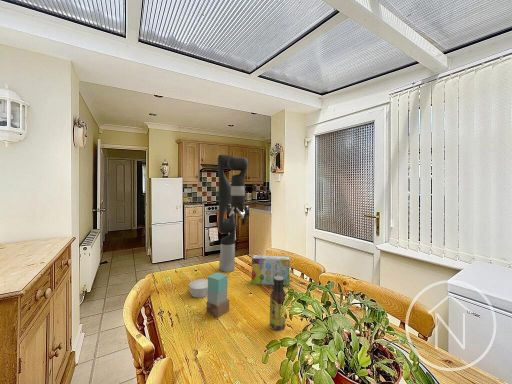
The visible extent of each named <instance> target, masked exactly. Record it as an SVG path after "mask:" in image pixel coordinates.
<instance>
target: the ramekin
mask: <svg viewBox="0 0 512 384" xmlns="http://www.w3.org/2000/svg"><path fill="white" fill-rule="evenodd" d="M188 287H189V291H190V295H191V296H192V297H193V298H205V297H207V290H208V278H207V279H206V278H198V279H194V280H192V281H190V283H189V285H188Z"/></svg>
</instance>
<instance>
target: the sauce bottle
mask: <svg viewBox="0 0 512 384" xmlns="http://www.w3.org/2000/svg"><path fill="white" fill-rule="evenodd" d="M273 281H274V285H273V290H272V291H271V293H270V298H269V299H270V300H269V326H270V327H271V329H274V330H277V331H281V330H283V329H285V327H286V321H287V320H286V318H287V317H286V318H284V317H280V310H281V306H282V302H283V299H284V297H285V296H286V297H287V295H286V292H285V290H284V286H283V282H284V278H283V277H282V276H275V277H274V279H273Z"/></svg>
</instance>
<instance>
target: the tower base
mask: <svg viewBox="0 0 512 384" xmlns="http://www.w3.org/2000/svg"><path fill="white" fill-rule="evenodd" d="M229 311H230V299H229V298H227V300H226V301H225V302H223V303H221V304H220V305H218V306H216V305H214V304H212V303H210V302H207V301H206V313H207V314H209V315H211V316H213V317H215V318H217V319H219V318H220V317H222V316H223V315H225V314H227V313H228V312H229Z"/></svg>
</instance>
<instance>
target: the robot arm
mask: <svg viewBox="0 0 512 384" xmlns="http://www.w3.org/2000/svg"><path fill="white" fill-rule="evenodd" d="M248 166H249V161H248V159H247V158H246V157H236V156H233V155H230V154H219V155H218V156H217V172H218V173H217V174H218V232H219V234H227V235H226V236H224V237H221V239H220V254H219V262H218V266H219V267H218V269H219V270H220V271H221V272H225V273H228V272H230V273H231V272H234V271H235V269H236V268H235V265H236V263H235V260H236V259H235V258H236V257H235V256H236V254H235V253H236V252H235V251H236V248H235V247H236V245H235V244H236V224H237V223H236V220H235V218H234V216H235V214H239V215H240V216H241V225H242V226H246V224H247V218H250V206H249V205H245V203H246V202H245V200H246V199H245V197H246V189H245V180H246V179H245V178H246V173H247V170H248ZM224 170H230V171H240V172H239V173H238V174H233V175H232V176H231V183H230V181H229V180H228V178H227V177H226V175H225V172H224ZM225 213H226V215H227V216H229V218H225Z"/></svg>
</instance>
